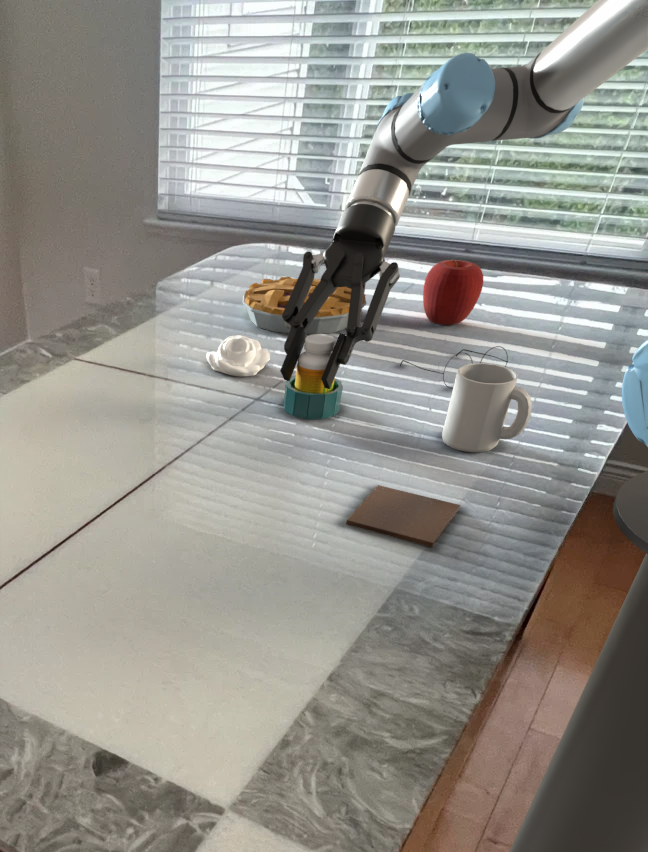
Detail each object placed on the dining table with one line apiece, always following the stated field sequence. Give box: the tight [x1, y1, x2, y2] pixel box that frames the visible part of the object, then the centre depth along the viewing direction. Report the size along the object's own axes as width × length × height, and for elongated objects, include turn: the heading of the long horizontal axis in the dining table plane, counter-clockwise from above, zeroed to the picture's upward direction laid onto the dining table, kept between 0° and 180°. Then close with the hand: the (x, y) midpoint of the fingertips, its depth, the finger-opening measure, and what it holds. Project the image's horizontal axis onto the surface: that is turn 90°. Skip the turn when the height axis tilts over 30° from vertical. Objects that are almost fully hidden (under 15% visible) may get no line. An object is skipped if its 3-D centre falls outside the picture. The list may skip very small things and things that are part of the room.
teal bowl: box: [282, 375, 344, 420], centre depth 120 cm, size 8×8×4 cm
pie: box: [242, 276, 367, 335], centre depth 150 cm, size 22×22×5 cm
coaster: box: [345, 484, 461, 548], centre depth 97 cm, size 10×10×1 cm
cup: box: [441, 362, 533, 453], centre depth 108 cm, size 7×10×9 cm
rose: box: [206, 334, 271, 377], centre depth 133 cm, size 10×4×10 cm
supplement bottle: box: [294, 333, 336, 393], centre depth 118 cm, size 5×5×10 cm
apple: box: [422, 258, 484, 326], centre depth 144 cm, size 10×10×10 cm
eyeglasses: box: [399, 345, 509, 390], centre depth 128 cm, size 11×13×5 cm
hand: (305, 379), depth 116 cm, fingers closed on supplement bottle, 5 cm apart
